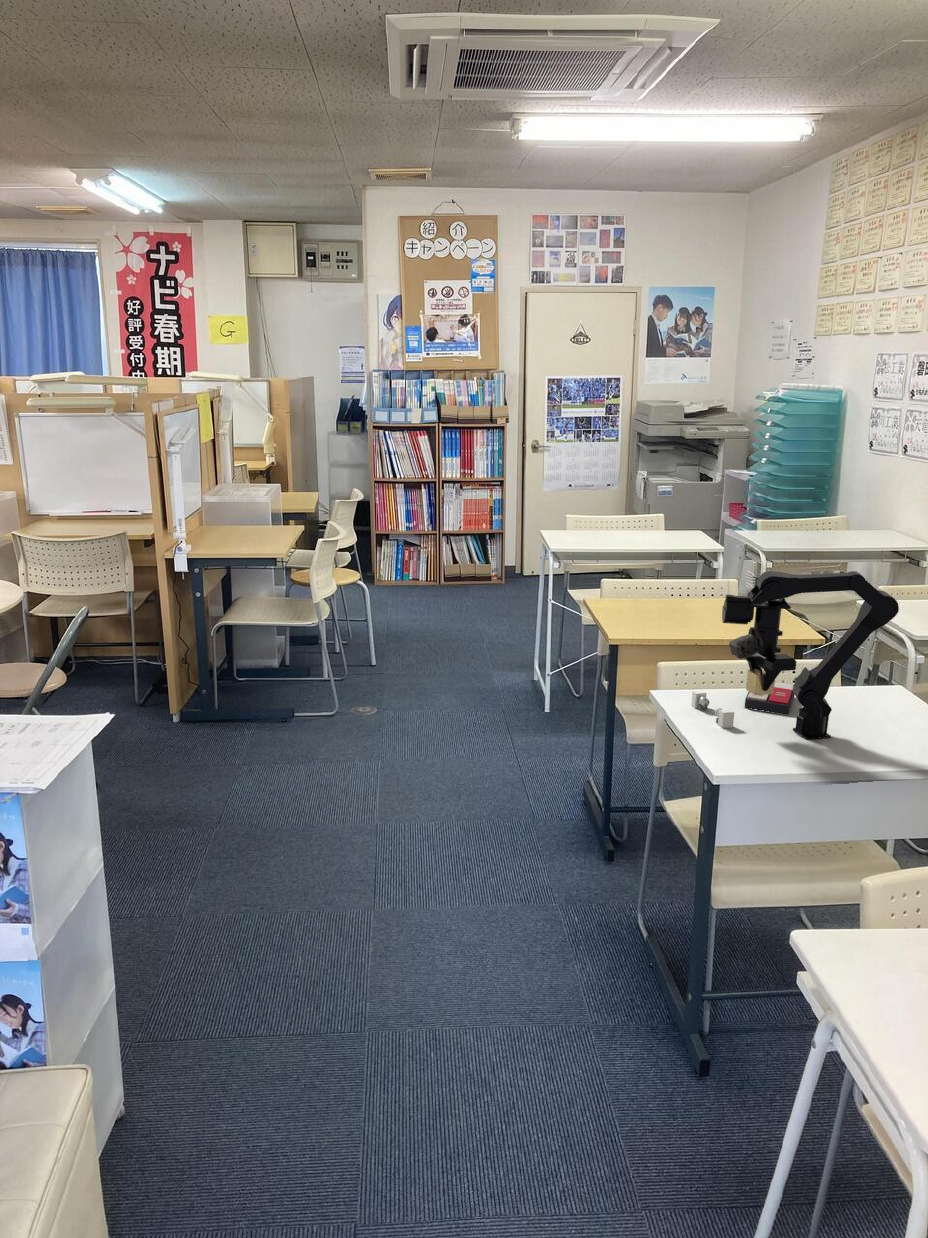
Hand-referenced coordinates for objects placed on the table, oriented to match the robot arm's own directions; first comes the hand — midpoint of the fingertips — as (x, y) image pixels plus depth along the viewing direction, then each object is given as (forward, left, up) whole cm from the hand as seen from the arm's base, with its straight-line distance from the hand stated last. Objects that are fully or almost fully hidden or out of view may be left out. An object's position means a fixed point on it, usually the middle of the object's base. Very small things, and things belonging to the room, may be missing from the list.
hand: (760, 687), depth 222 cm
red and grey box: (-14, -17, -12) cm, 25 cm away
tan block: (0, 0, -1) cm, 1 cm away
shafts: (+6, -11, -11) cm, 17 cm away
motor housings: (+6, -11, -11) cm, 17 cm away
